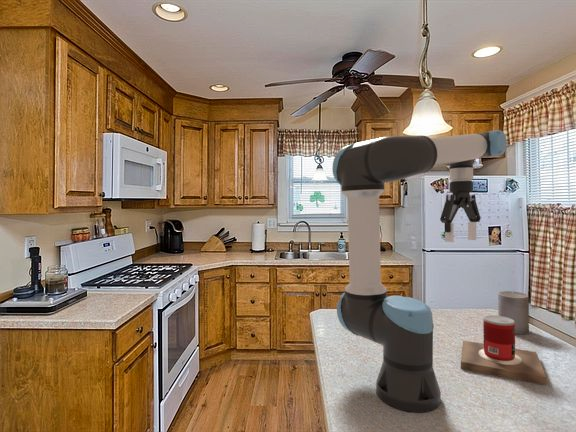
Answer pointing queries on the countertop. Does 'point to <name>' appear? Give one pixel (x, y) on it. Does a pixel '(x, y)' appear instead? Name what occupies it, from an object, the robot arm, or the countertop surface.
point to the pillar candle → (515, 309)
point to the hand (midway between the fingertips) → (460, 240)
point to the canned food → (499, 337)
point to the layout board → (503, 363)
